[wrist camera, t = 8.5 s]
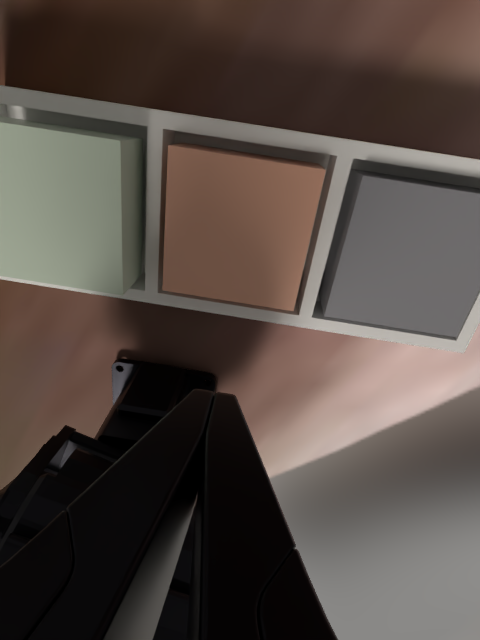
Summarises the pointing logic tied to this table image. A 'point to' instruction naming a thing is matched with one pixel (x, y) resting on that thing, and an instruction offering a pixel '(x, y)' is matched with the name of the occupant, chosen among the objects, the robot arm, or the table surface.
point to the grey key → (404, 254)
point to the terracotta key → (238, 224)
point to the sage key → (70, 206)
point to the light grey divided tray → (256, 139)
